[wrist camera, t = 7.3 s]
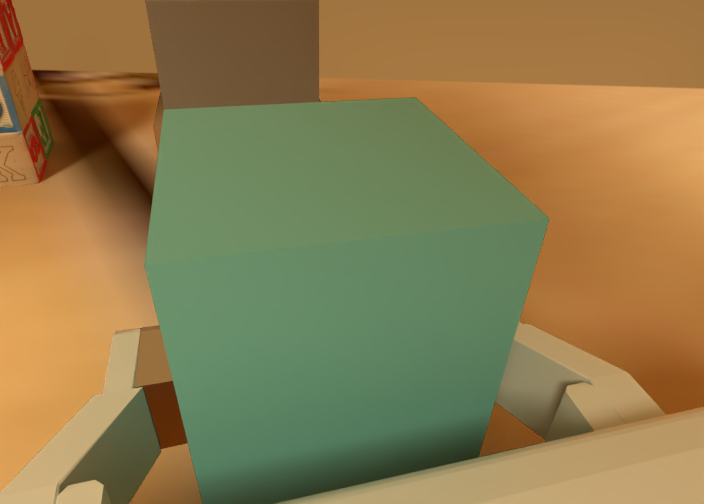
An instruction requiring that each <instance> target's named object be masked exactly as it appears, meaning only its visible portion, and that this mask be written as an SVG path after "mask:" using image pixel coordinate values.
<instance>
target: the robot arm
mask: <svg viewBox="0 0 704 504" xmlns="http://www.w3.org/2000/svg"><path fill="white" fill-rule="evenodd" d="M495 402H496V403H497V404H498V405H500V406H501V407H502V408H504V409H505V410H506V411H508V412H509V413H510V414H512V415H513V416H514V417H516V418H517V419H518V420H520V421H521V422H522V423H523V424H525V425H526V426H527V427H529V428H530V429H531V430H533V431H534V432H535V433H537V434H538V435H539V436H541V437H542V438H543V439H545V441H544V443H540V444H535V445H531V446H527V447H522V448H518V449H513V450H509V451H505V452H500V453H496V454H491V455H487V456H483V457H478V458H474V459H469V460H465V461H461V462H456V463H452V464H447V465H443V466H439V467H434V468H430V469H425V470H421V471H416V472H412V473H408V474H403V475H399V476H394V477H390V478H385V479H381V480H377V481H372V482H368V483H363V484H359V485H354V486H350V487H346V488H341V489H337V490H332V491H328V492H323V493H319V494H314V495H310V496H306V497H301V498H297V499H292V500H288V501H283V502H279V503H275V504H704V407H699V408H695V409H690V410H686V411H681V412H677V413H673V414H668V415H666V414H665V412H664V411H663V410H662V409H661V408H660V407H659V406H658V405H657V404H656V403H655V401H654V400H653V399H652V398H651V397H650V396H649V395H648V394H647V393H646V392H645V391H644V389H643V388H642V387H641V386H640V385H639V384H638V383H637V382H636V381H635V380H634V378H633V377H632V376H631V375H630V374H629V373H628V372H626V371H624V370H622V369H620V368H618V367H616V366H614V365H612V364H610V363H608V362H606V361H604V360H602V359H600V358H598V357H596V356H594V355H592V354H589V353H587V352H585V351H583V350H581V349H579V348H577V347H575V346H573V345H571V344H569V343H567V342H565V341H563V340H561V339H559V338H557V337H555V336H553V335H551V334H549V333H547V332H545V331H543V330H541V329H539V328H537V327H534V326H532V325H530V324H522V323H521V322H520V320H519V323H518V326H517V330H516V333H515V336H514V340H513V343H512V346H511V350H510V353H509V356H508V360H507V363H506V366H505V370H504V373H503V377H502V380H501V383H500V387H499V390H498V393H497V397H496V400H495ZM186 443H188V441H187V437H186V433H185V429H184V425H183V421H182V417H181V413H180V408H179V404H178V400H177V396H176V392H175V388H174V384H173V380H172V375H171V371H170V367H169V363H168V359H167V355H166V351H165V346H164V342H163V338H162V334H161V330H160V326H151V327H143V328H138V329H130V330H121V331H116V332H115V333H114V335H113V337H112V342H111V347H110V353H109V359H108V364H107V370H106V376H105V381H104V387H103V392H102V394H97V395H94V396H93V397H92V398H91V399H90V400H89V401H88V402H87V403H86V404H85V405H84V406H83V407H82V408H81V409H80V410H79V411H78V412H77V413H76V414H75V415H74V416H73V417H72V418H71V419H70V421H69V422H68V423H67V424H66V425H65V426H64V427H63V428H62V429H61V430H60V431H59V432H58V433H57V434H56V435H55V436H54V437H53V438H52V439H51V440H50V441H49V442H48V443H47V444H46V445H45V446H44V447H43V448H42V449H41V451H40V452H39V453H38V454H37V455H36V456H35V457H34V458H33V459H32V460H31V461H30V462H29V463H28V464H27V465H26V466H25V467H24V468H23V469H22V470H21V471H20V472H19V473H18V474H17V475H16V476H15V477H14V478H13V480H12V481H11V482H10V483H9V484H8V485H7V486H6V487H5V488H4V489H3V490H2V491H1V492H0V504H129V503H130V501H131V500H132V498H133V497H134V495H135V493H136V492H137V490H138V488H139V487H140V485H141V484H142V482H143V480H144V479H145V477H146V475H147V474H148V472H149V471H150V469H151V467H152V466H153V464H154V463H155V461H156V459H157V458H158V456H159V454H160V453H161V449H164V448H168V447H173V446H177V445H182V444H186Z"/></svg>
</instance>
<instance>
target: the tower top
mask: <svg viewBox="0 0 704 504" xmlns="http://www.w3.org/2000/svg"><path fill="white" fill-rule="evenodd" d="M145 3H146V9H147V14H148V20H149V26H150V32H151V37H152V43H153V48H154V54H155V60H156V65H157V71H158V77H159V83H160V88H161V94H162V100H163V105H164V110H165V109H185V108H206V107H226V106H247V105H268V104H288V103H309V102H319V0H145Z"/></svg>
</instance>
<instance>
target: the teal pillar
mask: <svg viewBox="0 0 704 504" xmlns="http://www.w3.org/2000/svg"><path fill="white" fill-rule="evenodd" d="M549 219H550V218H549V217H548V216H547V215H545V214H544V213H543V212H542V211H541V210H540V209H539V208H538V207H537V206H535V205H534V204H533V203H532V202H531V201H530V200H529V199H528V198H527V197H525V196H524V195H523V194H522V193H521V192H520V191H519V190H518V189H517V188H516V187H514V186H513V185H512V184H511V183H510V182H509V181H508V180H507V179H506V178H504V177H503V176H502V175H501V174H500V173H499V172H498V171H497V170H496V169H494V168H493V167H492V166H491V165H490V164H489V163H488V162H487V161H486V160H485V159H483V158H482V157H481V156H480V155H479V154H478V153H477V152H476V151H475V150H473V149H472V148H471V147H470V146H469V145H468V144H467V143H466V142H465V141H463V140H462V139H461V138H460V137H459V136H458V135H457V134H456V133H455V132H454V131H452V130H451V129H450V128H449V127H448V126H447V125H446V124H445V123H444V122H442V121H441V120H440V119H439V118H438V117H437V116H436V115H435V114H434V113H432V112H431V111H430V110H429V109H428V108H427V107H426V106H425V105H424V104H423V103H421V102H420V101H419V100H418V99H417V98H416V97H412V98H391V99H370V100H350V101H329V102H309V103H288V104H268V105H247V106H226V107H206V108H185V109H165V110H164V111H163V119H162V127H161V135H160V144H159V152H158V160H157V168H156V176H155V184H154V192H153V200H152V208H151V216H150V224H149V232H148V240H147V249H146V257H145V268H146V272H147V276H148V280H149V285H150V289H151V293H152V297H153V301H154V305H155V309H156V313H157V318H158V322H159V326H160V330H161V334H162V338H163V342H164V346H165V351H166V355H167V359H168V363H169V367H170V371H171V375H172V380H173V384H174V388H175V392H176V396H177V400H178V404H179V408H180V413H181V417H182V421H183V425H184V429H185V433H186V437H187V441H188V446H189V450H190V454H191V458H192V462H193V466H194V470H195V475H196V479H197V483H198V487H199V491H200V495H201V499H202V503H203V504H275V503H279V502H283V501H288V500H292V499H297V498H301V497H306V496H310V495H314V494H319V493H323V492H328V491H332V490H337V489H341V488H346V487H350V486H354V485H359V484H363V483H368V482H372V481H377V480H381V479H385V478H390V477H394V476H399V475H403V474H408V473H412V472H416V471H421V470H425V469H430V468H434V467H439V466H443V465H447V464H452V463H456V462H461V461H465V460H469V459H474V458H478V457H479V454H480V450H481V447H482V444H483V440H484V437H485V434H486V430H487V427H488V424H489V420H490V417H491V413H492V410H493V407H494V403H495V400H496V397H497V393H498V390H499V387H500V383H501V380H502V377H503V373H504V370H505V366H506V363H507V360H508V356H509V353H510V350H511V346H512V343H513V340H514V336H515V333H516V330H517V326H518V323H519V320H520V316H521V313H522V309H523V306H524V303H525V299H526V296H527V293H528V289H529V286H530V283H531V279H532V276H533V273H534V269H535V266H536V262H537V259H538V256H539V252H540V249H541V246H542V242H543V239H544V236H545V232H546V229H547V226H548V222H549Z"/></svg>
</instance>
